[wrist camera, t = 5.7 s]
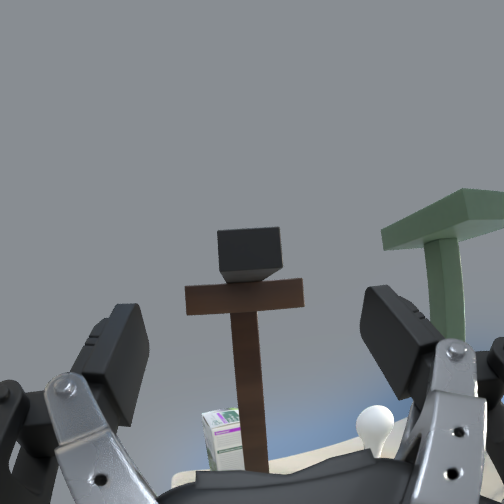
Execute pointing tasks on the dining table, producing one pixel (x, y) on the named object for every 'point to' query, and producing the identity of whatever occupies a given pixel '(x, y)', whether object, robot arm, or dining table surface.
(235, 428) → the syrup box
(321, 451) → the dining table surface
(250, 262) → the hanger
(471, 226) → the green pedestal stand
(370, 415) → the lightbulb
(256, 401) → the brown pedestal stand
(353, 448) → the dining table surface
